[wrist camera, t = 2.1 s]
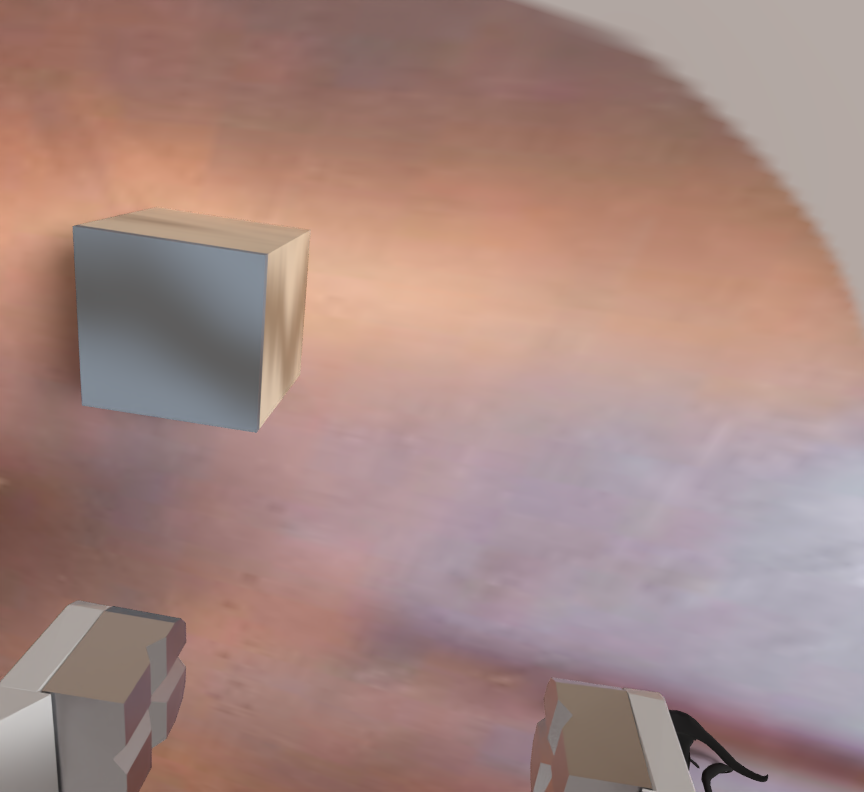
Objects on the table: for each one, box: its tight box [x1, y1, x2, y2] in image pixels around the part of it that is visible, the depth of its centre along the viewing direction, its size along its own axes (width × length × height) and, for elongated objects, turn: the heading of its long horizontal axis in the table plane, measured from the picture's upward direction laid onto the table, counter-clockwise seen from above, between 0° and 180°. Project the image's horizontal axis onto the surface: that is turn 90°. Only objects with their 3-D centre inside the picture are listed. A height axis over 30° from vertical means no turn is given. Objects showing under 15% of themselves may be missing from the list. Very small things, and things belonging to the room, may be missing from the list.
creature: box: [669, 710, 768, 792], centre depth 32 cm, size 8×5×8 cm
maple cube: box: [73, 207, 311, 433], centre depth 25 cm, size 6×6×6 cm
